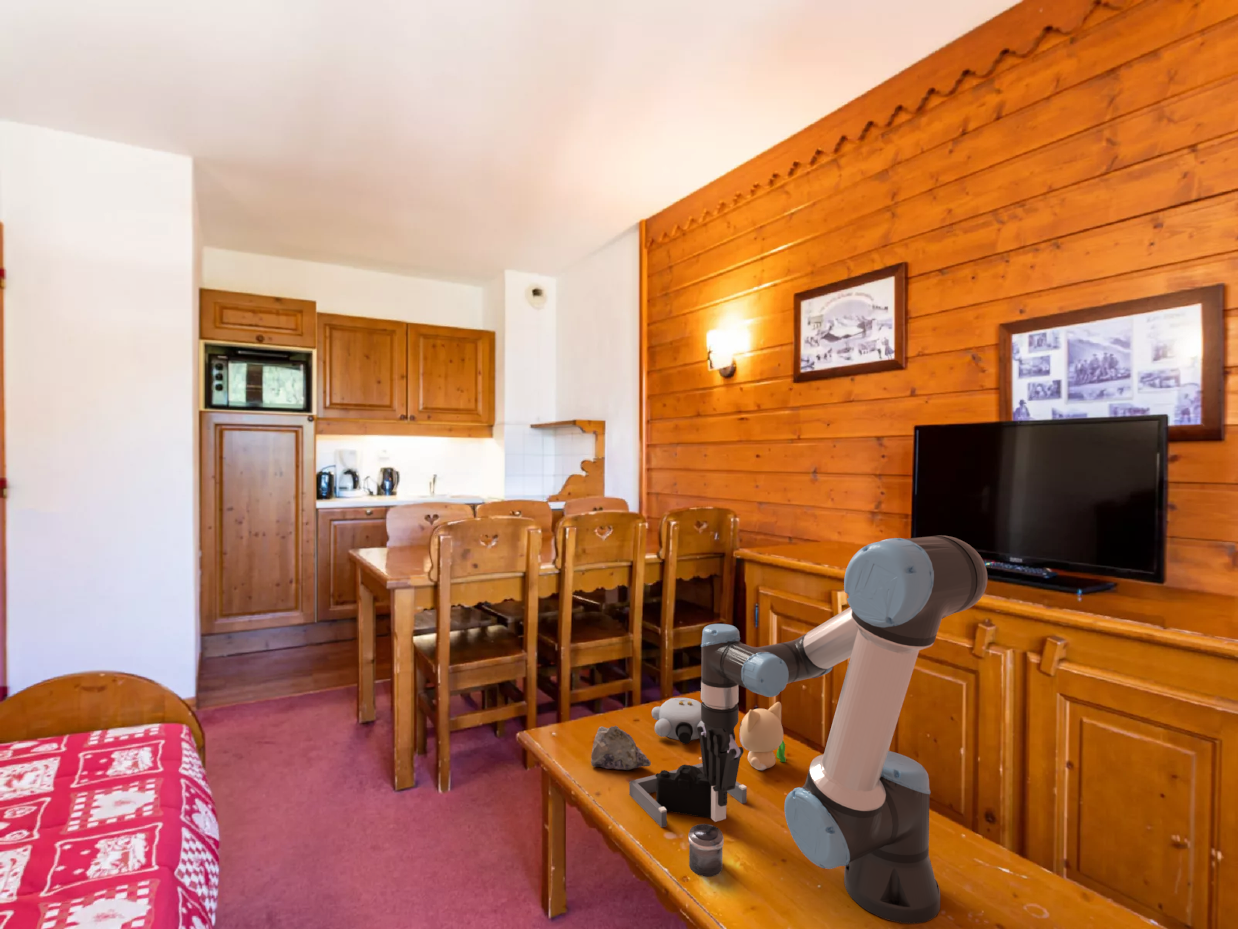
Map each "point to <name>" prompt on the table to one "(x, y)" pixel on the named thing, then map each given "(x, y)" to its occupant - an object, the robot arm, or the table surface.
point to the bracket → (641, 795)
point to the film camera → (684, 791)
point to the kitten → (763, 736)
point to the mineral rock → (616, 750)
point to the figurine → (678, 719)
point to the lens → (705, 850)
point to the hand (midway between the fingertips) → (718, 818)
